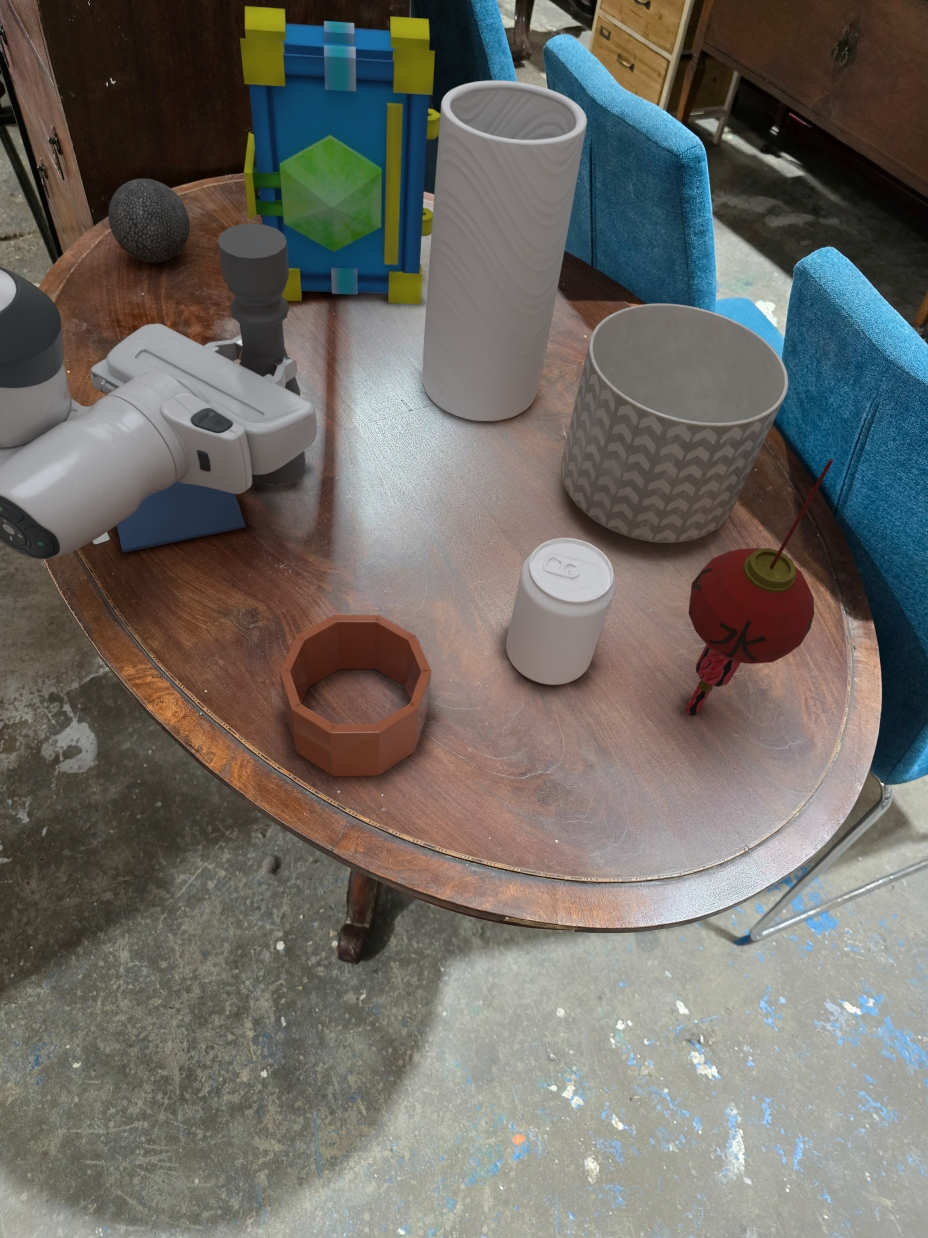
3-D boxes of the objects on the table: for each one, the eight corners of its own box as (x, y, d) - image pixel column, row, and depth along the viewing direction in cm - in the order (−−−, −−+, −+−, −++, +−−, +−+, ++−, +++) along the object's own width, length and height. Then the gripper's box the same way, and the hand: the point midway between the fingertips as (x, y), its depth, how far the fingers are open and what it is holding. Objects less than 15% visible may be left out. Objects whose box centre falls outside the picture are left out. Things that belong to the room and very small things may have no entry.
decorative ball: (109, 274, 113) (91, 198, 105) (127, 235, 119) (111, 160, 112) (187, 280, 114) (174, 205, 106) (201, 241, 120) (189, 167, 112)
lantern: (658, 653, 82) (774, 396, 59) (753, 692, 80) (913, 443, 57) (627, 728, 77) (742, 477, 53) (729, 773, 75) (895, 533, 51)
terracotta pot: (310, 796, 70) (305, 754, 64) (273, 678, 77) (266, 631, 71) (443, 755, 73) (449, 712, 68) (397, 646, 80) (399, 598, 75)
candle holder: (246, 486, 90) (213, 259, 70) (247, 446, 93) (215, 221, 74) (306, 484, 91) (290, 260, 71) (304, 445, 94) (289, 222, 75)
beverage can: (577, 700, 78) (606, 619, 69) (493, 671, 79) (510, 586, 70) (599, 635, 83) (629, 551, 74) (520, 608, 84) (539, 522, 75)
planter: (612, 583, 87) (660, 444, 73) (525, 463, 97) (553, 321, 83) (760, 535, 94) (830, 399, 79) (664, 427, 104) (711, 289, 89)
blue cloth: (123, 553, 84) (122, 550, 84) (103, 460, 92) (102, 457, 91) (245, 527, 88) (245, 524, 87) (217, 440, 95) (216, 437, 95)
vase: (556, 416, 103) (616, 138, 78) (443, 434, 99) (469, 149, 74) (511, 346, 111) (553, 75, 86) (405, 361, 107) (418, 81, 82)
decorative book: (262, 252, 120) (237, -2, 96) (427, 258, 123) (441, 12, 99) (257, 311, 111) (228, 46, 87) (434, 315, 114) (452, 61, 91)
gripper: (86, 406, 80) (194, 339, 87) (255, 503, 74) (355, 423, 82) (68, 347, 75) (184, 282, 82) (247, 446, 69) (354, 366, 77)
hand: (270, 353), depth 82 cm, fingers closed on candle holder, 4 cm apart
